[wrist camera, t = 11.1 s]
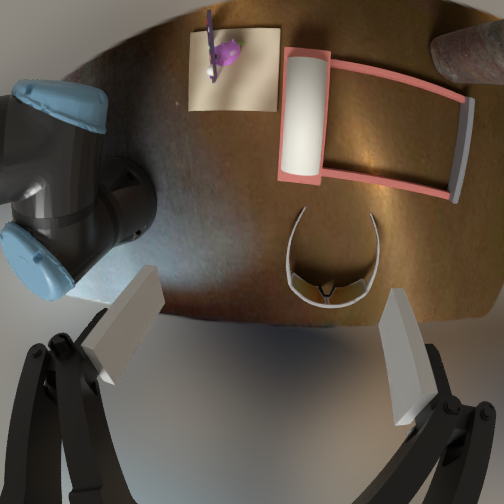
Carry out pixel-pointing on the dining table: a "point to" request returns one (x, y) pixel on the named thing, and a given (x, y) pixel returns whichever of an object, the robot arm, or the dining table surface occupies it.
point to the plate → (236, 71)
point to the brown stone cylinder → (471, 54)
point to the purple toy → (220, 51)
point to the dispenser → (315, 119)
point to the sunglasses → (337, 295)
